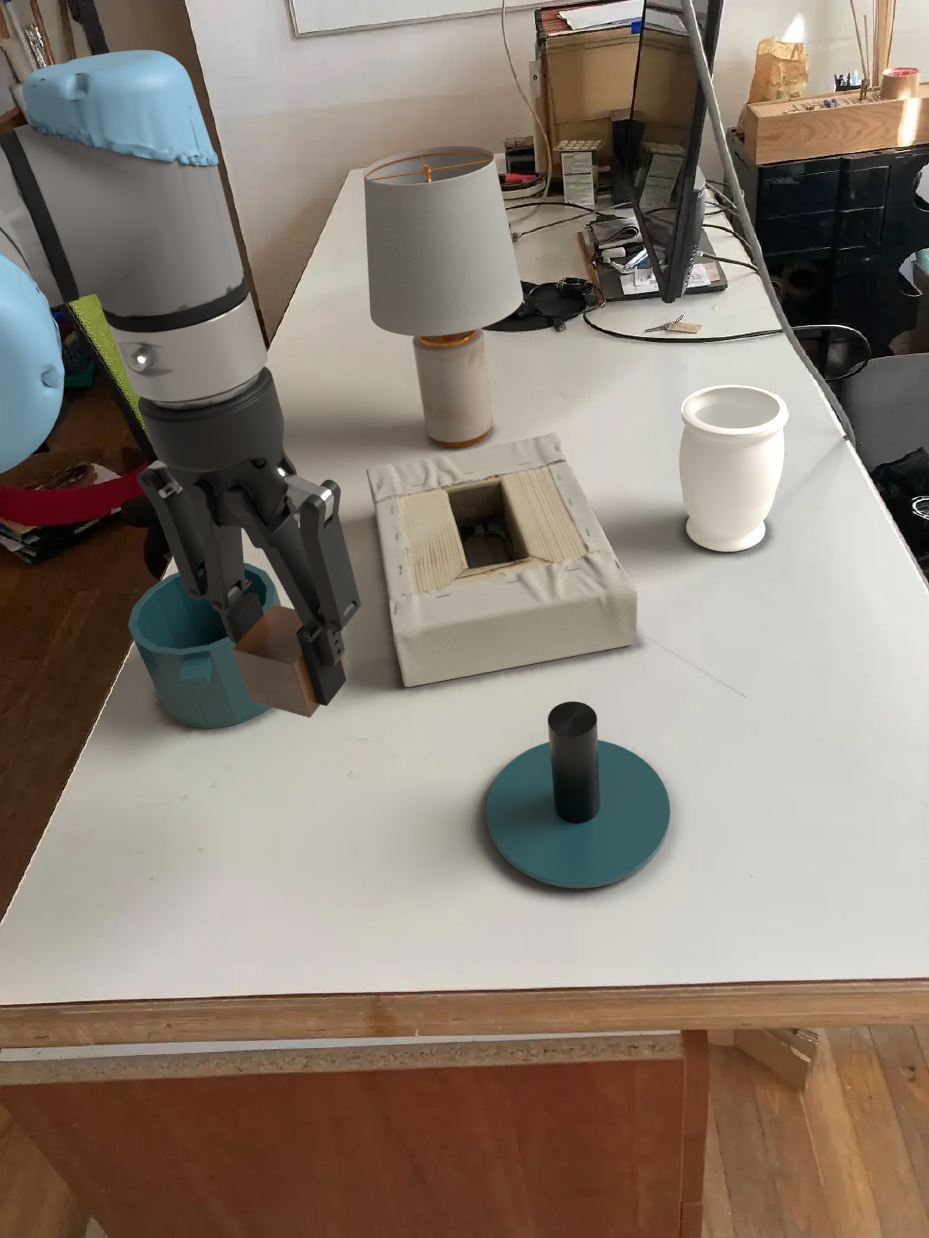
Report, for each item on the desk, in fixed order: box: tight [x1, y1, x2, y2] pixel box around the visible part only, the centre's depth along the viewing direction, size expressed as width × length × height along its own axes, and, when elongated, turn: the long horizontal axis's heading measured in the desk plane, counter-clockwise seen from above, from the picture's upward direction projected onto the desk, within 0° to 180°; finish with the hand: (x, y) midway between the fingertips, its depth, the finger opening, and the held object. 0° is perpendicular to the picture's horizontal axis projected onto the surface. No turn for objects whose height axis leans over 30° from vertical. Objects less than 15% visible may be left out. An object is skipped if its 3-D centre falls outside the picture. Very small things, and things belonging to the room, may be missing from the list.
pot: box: [127, 562, 282, 729], centre depth 90 cm, size 14×19×10 cm
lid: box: [486, 700, 671, 889], centre depth 72 cm, size 15×15×11 cm
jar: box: [678, 384, 789, 553], centre depth 97 cm, size 11×10×15 cm
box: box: [366, 432, 638, 688], centre depth 99 cm, size 23×8×32 cm
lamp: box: [362, 145, 524, 449], centre depth 115 cm, size 19×19×34 cm
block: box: [232, 605, 347, 719], centre depth 65 cm, size 5×5×5 cm
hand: (298, 682), depth 66 cm, fingers closed on block, 5 cm apart
